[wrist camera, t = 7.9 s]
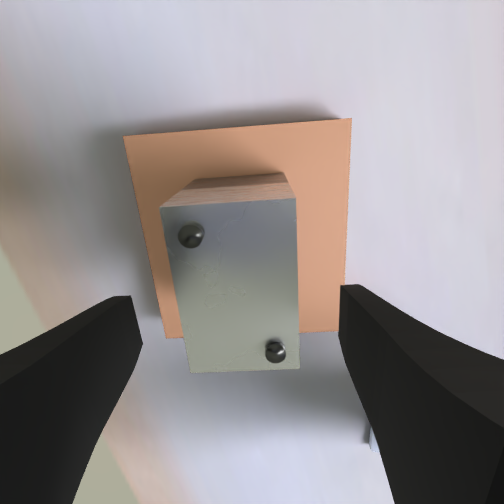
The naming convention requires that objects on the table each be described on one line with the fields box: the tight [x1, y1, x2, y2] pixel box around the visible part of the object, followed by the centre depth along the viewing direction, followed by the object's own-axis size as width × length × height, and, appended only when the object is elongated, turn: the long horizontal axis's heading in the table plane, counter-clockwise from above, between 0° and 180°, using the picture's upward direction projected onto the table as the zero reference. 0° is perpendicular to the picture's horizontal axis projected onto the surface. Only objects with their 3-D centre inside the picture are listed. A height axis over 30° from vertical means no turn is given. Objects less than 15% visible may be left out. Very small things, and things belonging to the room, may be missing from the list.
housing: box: [159, 172, 300, 373], centre depth 14 cm, size 7×4×6 cm, turn 4°
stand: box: [123, 118, 352, 338], centre depth 18 cm, size 11×12×2 cm
